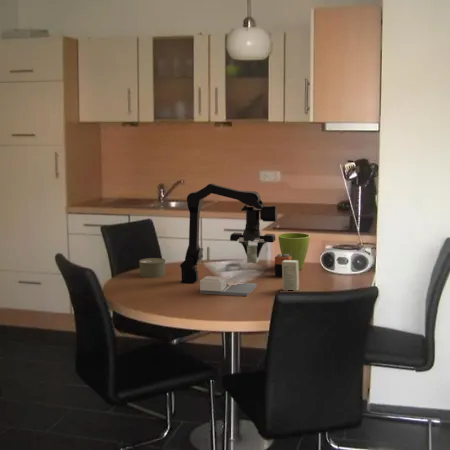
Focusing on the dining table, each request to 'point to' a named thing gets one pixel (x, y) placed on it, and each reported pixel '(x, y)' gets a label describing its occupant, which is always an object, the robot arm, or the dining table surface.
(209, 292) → the board
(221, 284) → the cover
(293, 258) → the flower pot
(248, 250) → the peg
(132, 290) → the dining table surface
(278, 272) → the battery
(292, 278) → the skincare box
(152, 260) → the can
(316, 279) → the dining table surface
